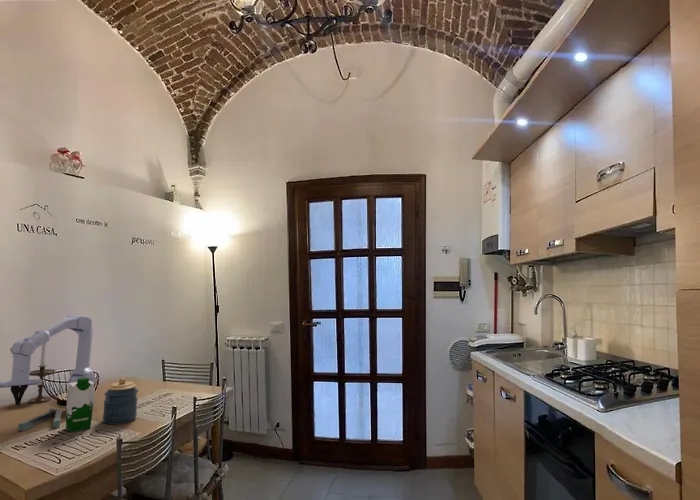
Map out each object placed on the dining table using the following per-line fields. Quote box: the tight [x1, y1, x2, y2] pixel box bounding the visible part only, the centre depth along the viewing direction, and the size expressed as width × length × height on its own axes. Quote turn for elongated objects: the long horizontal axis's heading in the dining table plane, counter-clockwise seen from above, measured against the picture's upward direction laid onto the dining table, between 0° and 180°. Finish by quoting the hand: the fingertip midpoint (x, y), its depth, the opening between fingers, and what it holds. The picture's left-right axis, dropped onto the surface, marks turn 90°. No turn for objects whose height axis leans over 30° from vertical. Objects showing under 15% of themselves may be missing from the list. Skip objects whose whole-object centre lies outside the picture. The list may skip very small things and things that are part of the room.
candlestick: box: [27, 342, 56, 404], centre depth 205 cm, size 11×11×35 cm
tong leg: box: [17, 411, 52, 432], centre depth 170 cm, size 2×16×3 cm, turn 3°
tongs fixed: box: [48, 407, 63, 429], centre depth 173 cm, size 5×20×3 cm, turn 33°
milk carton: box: [65, 378, 95, 433], centre depth 166 cm, size 9×9×20 cm
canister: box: [102, 377, 139, 425], centre depth 178 cm, size 13×13×18 cm
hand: (17, 404), depth 166 cm, fingers closed
